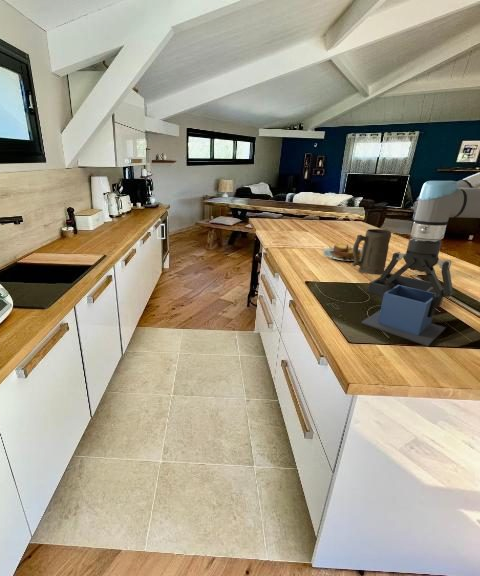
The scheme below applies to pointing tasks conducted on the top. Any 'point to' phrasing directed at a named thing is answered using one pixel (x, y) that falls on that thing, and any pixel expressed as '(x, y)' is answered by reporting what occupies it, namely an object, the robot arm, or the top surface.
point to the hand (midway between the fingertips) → (407, 309)
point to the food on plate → (342, 252)
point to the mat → (422, 338)
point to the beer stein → (372, 251)
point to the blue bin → (406, 309)
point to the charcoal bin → (378, 285)
